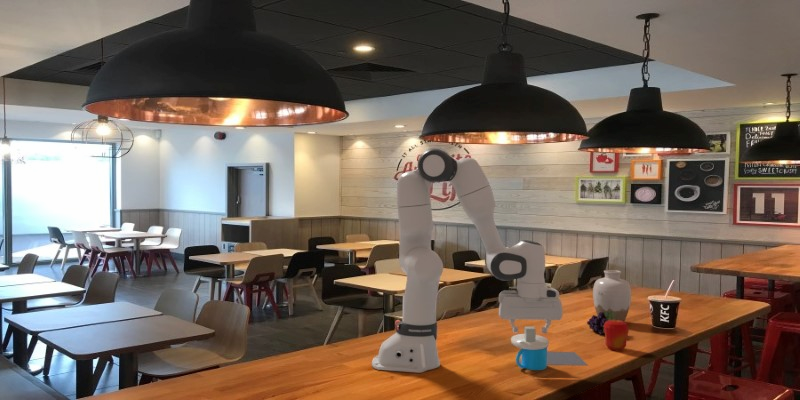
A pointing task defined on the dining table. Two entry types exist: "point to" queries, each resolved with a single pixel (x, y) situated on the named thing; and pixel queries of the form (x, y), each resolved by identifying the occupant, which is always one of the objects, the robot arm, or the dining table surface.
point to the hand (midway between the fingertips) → (529, 332)
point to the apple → (616, 334)
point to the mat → (564, 358)
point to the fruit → (600, 321)
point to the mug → (532, 359)
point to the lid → (529, 340)
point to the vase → (612, 295)
